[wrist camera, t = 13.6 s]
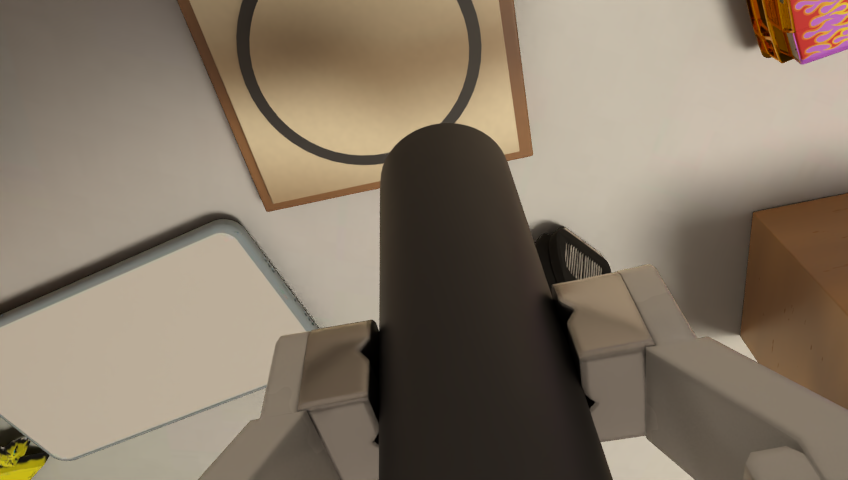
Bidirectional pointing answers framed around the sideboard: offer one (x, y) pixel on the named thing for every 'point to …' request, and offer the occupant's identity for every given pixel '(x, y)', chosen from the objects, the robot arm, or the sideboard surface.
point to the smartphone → (145, 342)
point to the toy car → (799, 28)
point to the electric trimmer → (568, 258)
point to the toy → (20, 461)
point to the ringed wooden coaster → (356, 83)
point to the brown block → (800, 294)
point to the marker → (470, 325)
